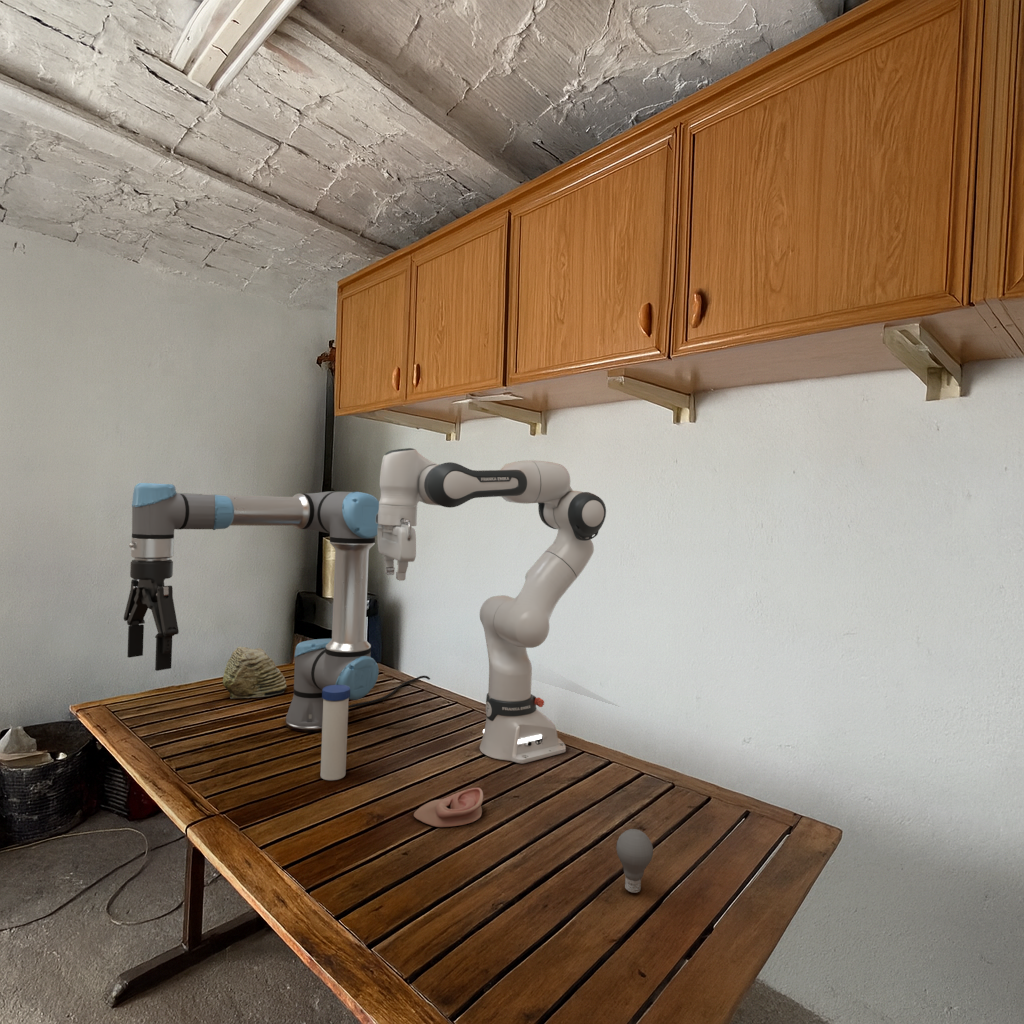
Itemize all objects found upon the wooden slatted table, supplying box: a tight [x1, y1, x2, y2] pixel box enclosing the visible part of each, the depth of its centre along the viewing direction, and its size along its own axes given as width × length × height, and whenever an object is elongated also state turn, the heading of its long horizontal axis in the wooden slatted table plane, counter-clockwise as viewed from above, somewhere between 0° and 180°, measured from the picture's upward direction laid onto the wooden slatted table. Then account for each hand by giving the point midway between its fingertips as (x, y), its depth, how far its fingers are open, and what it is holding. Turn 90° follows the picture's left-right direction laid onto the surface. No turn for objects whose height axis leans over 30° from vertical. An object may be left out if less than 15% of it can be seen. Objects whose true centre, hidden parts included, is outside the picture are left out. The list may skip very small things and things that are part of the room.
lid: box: [322, 685, 350, 701], centre depth 144 cm, size 6×6×2 cm
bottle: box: [320, 698, 349, 781], centre depth 144 cm, size 6×6×19 cm
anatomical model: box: [413, 787, 484, 828], centre depth 129 cm, size 13×4×12 cm
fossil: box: [222, 646, 288, 699], centre depth 198 cm, size 9×18×15 cm, turn 132°
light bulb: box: [615, 828, 654, 894], centre depth 106 cm, size 6×6×10 cm
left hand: (148, 662), depth 129 cm, fingers open, 13 cm apart
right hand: (395, 577), depth 147 cm, fingers open, 8 cm apart
